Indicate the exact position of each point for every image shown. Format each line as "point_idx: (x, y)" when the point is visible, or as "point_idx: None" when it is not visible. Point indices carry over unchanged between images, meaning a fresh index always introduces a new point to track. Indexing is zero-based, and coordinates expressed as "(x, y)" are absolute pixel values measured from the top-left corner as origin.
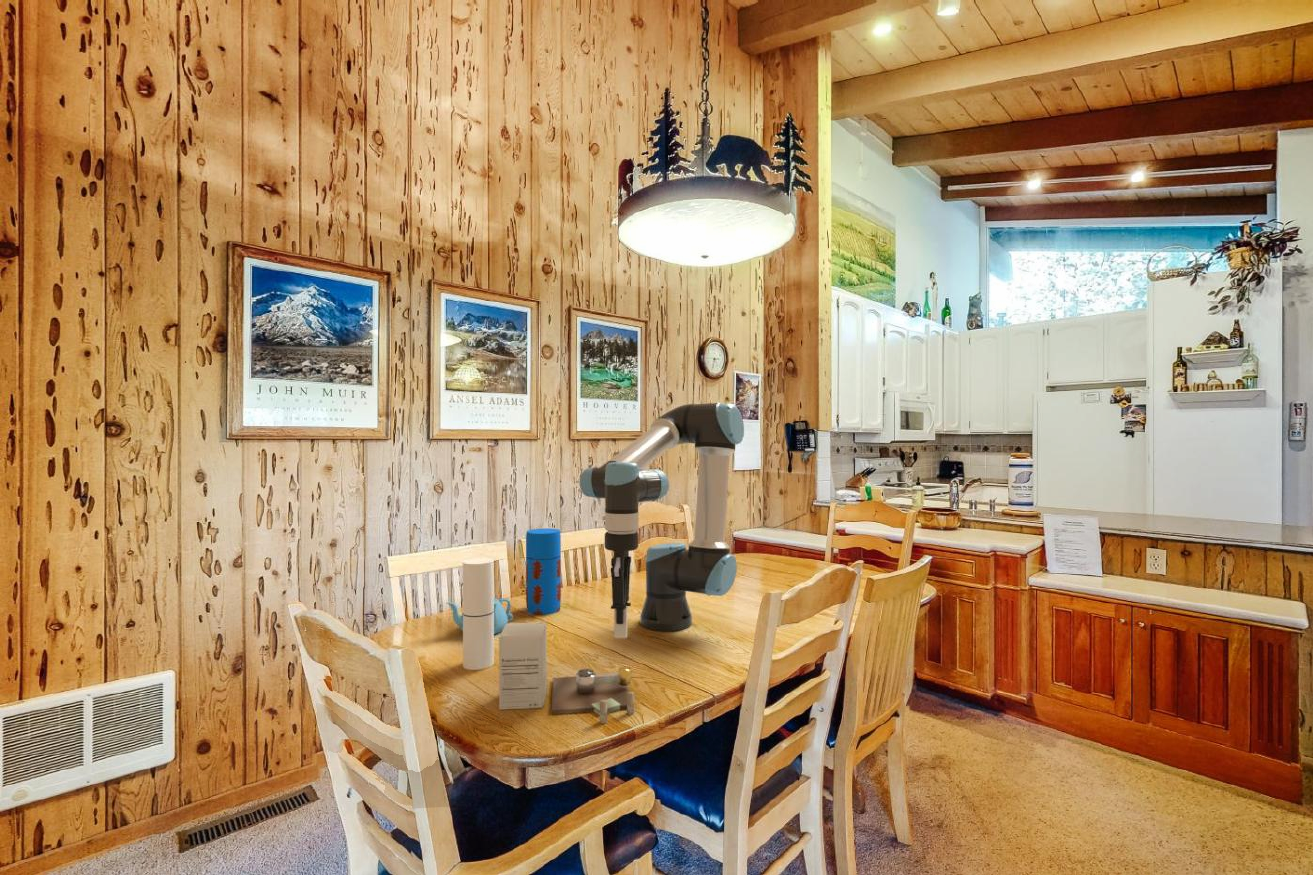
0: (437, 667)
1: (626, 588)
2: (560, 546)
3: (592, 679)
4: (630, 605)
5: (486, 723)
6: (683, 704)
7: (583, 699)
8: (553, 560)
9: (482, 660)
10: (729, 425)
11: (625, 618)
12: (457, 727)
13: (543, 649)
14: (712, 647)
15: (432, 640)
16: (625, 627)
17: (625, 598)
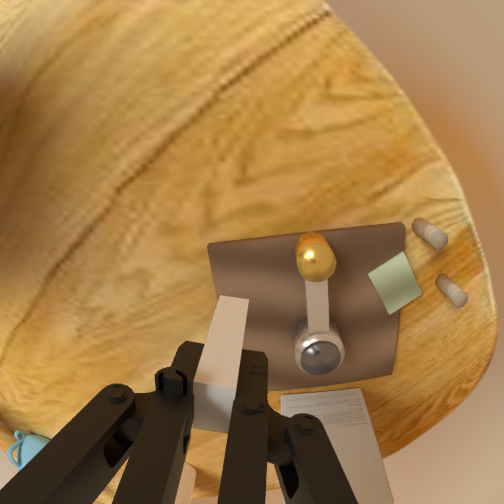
0: (192, 494)
1: (165, 485)
2: None
3: (336, 336)
4: (171, 368)
5: (389, 433)
6: (387, 92)
7: (359, 331)
8: None
9: (189, 477)
10: None
11: (240, 354)
12: (388, 452)
13: (369, 474)
14: (26, 28)
15: (107, 492)
16: (244, 327)
17: (242, 447)
